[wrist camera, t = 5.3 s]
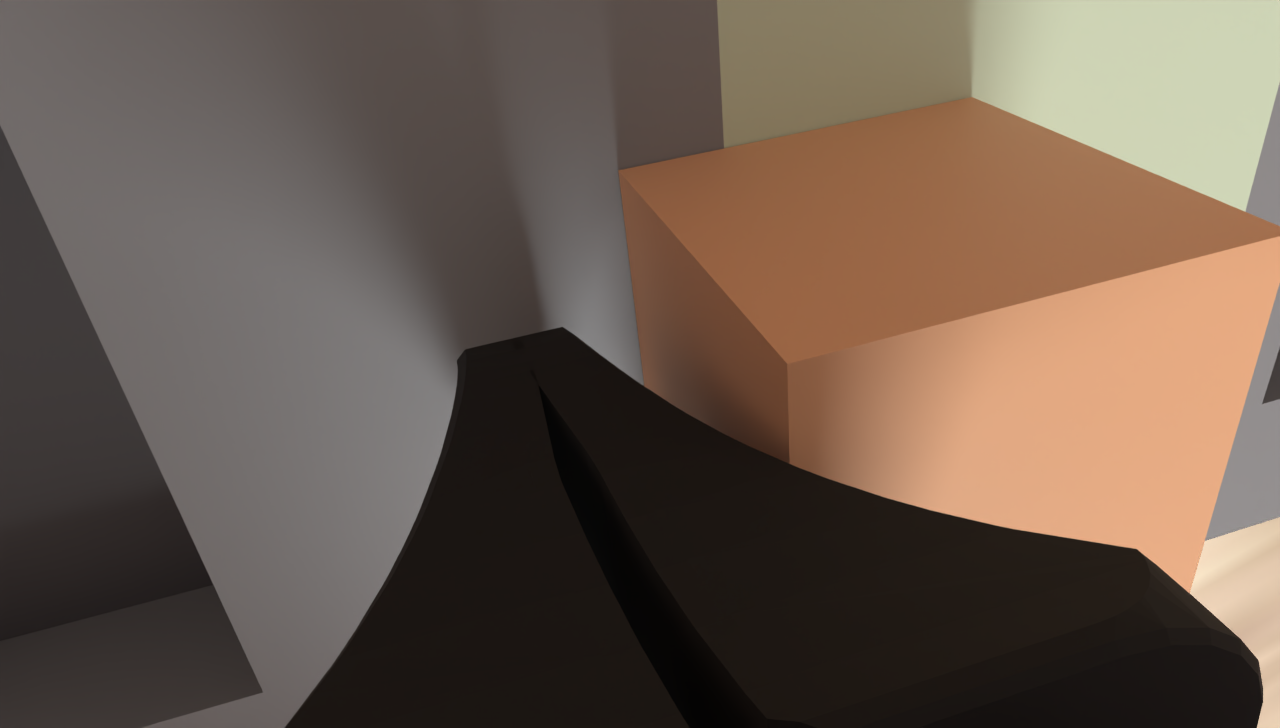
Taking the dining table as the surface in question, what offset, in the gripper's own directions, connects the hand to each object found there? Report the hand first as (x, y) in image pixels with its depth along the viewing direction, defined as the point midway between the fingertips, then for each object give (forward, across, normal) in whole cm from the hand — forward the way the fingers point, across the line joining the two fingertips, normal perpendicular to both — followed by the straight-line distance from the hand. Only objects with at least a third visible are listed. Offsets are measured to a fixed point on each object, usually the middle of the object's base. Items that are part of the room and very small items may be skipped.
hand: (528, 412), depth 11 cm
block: (+1, -4, 0) cm, 4 cm away
